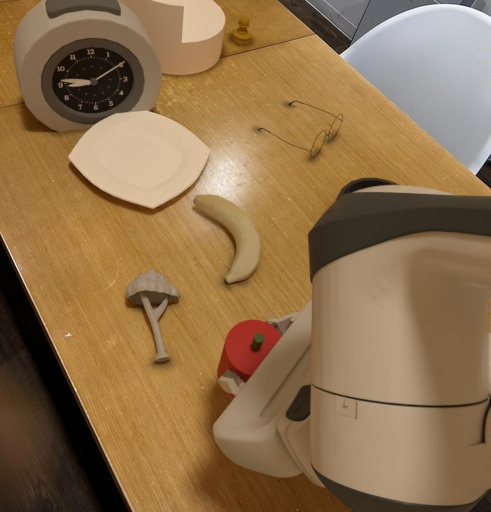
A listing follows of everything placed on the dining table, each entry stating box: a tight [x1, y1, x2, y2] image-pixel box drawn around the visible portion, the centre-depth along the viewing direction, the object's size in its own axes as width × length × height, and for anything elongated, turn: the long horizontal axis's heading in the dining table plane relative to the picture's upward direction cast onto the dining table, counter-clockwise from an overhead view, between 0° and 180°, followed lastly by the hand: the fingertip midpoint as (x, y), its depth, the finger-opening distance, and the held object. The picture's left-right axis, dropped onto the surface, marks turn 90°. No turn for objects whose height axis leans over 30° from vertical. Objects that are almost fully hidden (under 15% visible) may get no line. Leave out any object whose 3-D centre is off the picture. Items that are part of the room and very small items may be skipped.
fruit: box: [192, 193, 262, 284], centre depth 72 cm, size 7×15×3 cm, turn 22°
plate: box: [67, 110, 212, 210], centre depth 78 cm, size 19×19×2 cm
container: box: [119, 0, 226, 76], centre depth 94 cm, size 20×20×13 cm
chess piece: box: [231, 15, 252, 46], centre depth 103 cm, size 4×4×5 cm
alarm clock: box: [12, 0, 163, 133], centre depth 76 cm, size 21×8×20 cm, turn 111°
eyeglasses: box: [257, 100, 344, 159], centre depth 88 cm, size 11×13×5 cm
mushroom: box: [125, 269, 181, 363], centre depth 62 cm, size 7×5×12 cm
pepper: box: [216, 319, 282, 400], centre depth 50 cm, size 6×6×9 cm
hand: (246, 353), depth 50 cm, fingers closed on pepper, 6 cm apart
